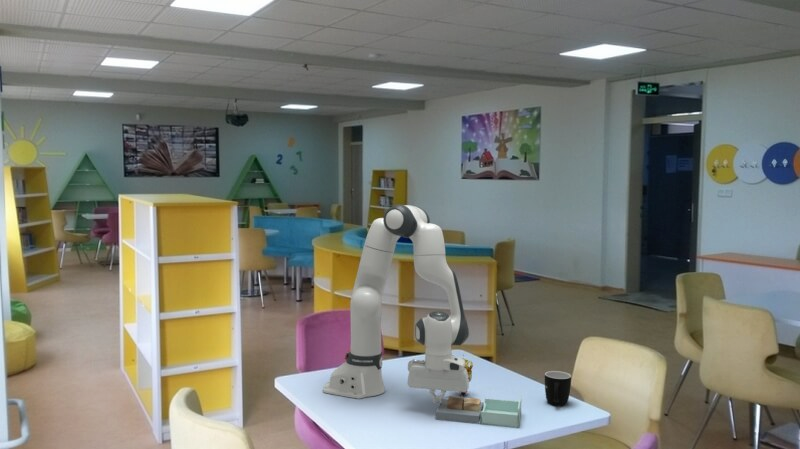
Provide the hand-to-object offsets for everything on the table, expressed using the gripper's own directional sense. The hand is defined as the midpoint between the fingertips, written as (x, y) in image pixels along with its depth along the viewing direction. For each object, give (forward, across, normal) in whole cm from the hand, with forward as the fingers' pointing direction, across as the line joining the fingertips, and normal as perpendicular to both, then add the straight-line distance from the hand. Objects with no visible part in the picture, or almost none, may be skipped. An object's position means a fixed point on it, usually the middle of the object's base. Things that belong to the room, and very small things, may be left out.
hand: (437, 402), depth 215 cm
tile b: (+1, +6, 0) cm, 6 cm away
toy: (+4, +5, +20) cm, 21 cm away
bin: (+4, +21, 0) cm, 21 cm away
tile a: (+1, +12, 0) cm, 12 cm away
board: (+4, +8, 0) cm, 8 cm away
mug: (+4, +38, +19) cm, 43 cm away
